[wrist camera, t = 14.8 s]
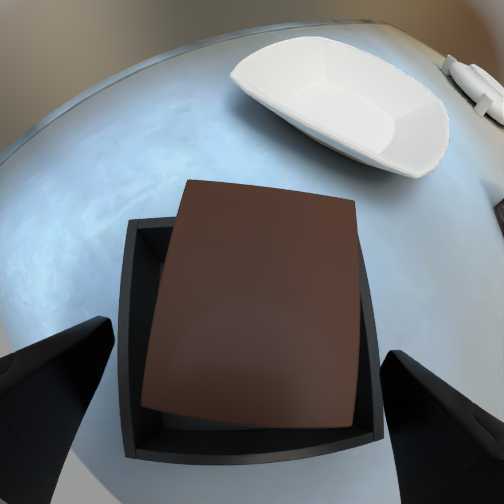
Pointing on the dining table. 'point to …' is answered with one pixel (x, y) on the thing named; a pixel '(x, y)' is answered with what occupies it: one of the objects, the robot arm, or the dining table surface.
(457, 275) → the dining table surface
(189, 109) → the dining table surface
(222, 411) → the chocolate carton
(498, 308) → the dining table surface
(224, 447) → the open storage bin
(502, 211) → the box
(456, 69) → the round stand with pegs
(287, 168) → the dining table surface
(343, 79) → the bowl
